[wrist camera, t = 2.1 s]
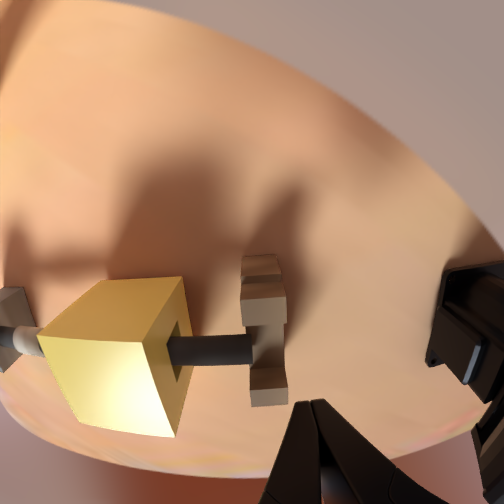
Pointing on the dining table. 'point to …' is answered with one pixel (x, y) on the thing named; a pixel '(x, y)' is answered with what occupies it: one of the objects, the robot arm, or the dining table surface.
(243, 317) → the cord fixture
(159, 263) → the dining table surface
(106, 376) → the sleeve
